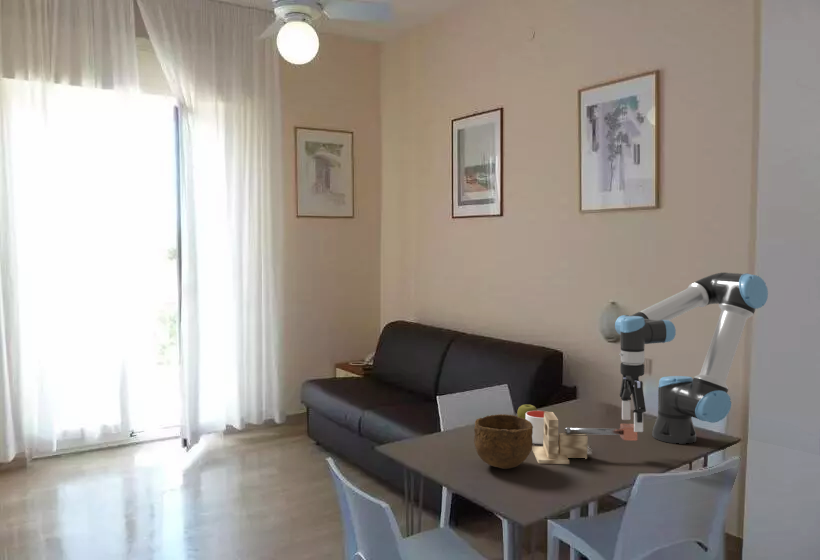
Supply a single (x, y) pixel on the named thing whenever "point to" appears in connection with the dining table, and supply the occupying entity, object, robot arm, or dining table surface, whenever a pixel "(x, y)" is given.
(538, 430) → the cup
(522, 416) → the apple
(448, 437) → the dining table surface
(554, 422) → the slotted wooden stand
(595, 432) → the metal rod with block
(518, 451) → the bowl
